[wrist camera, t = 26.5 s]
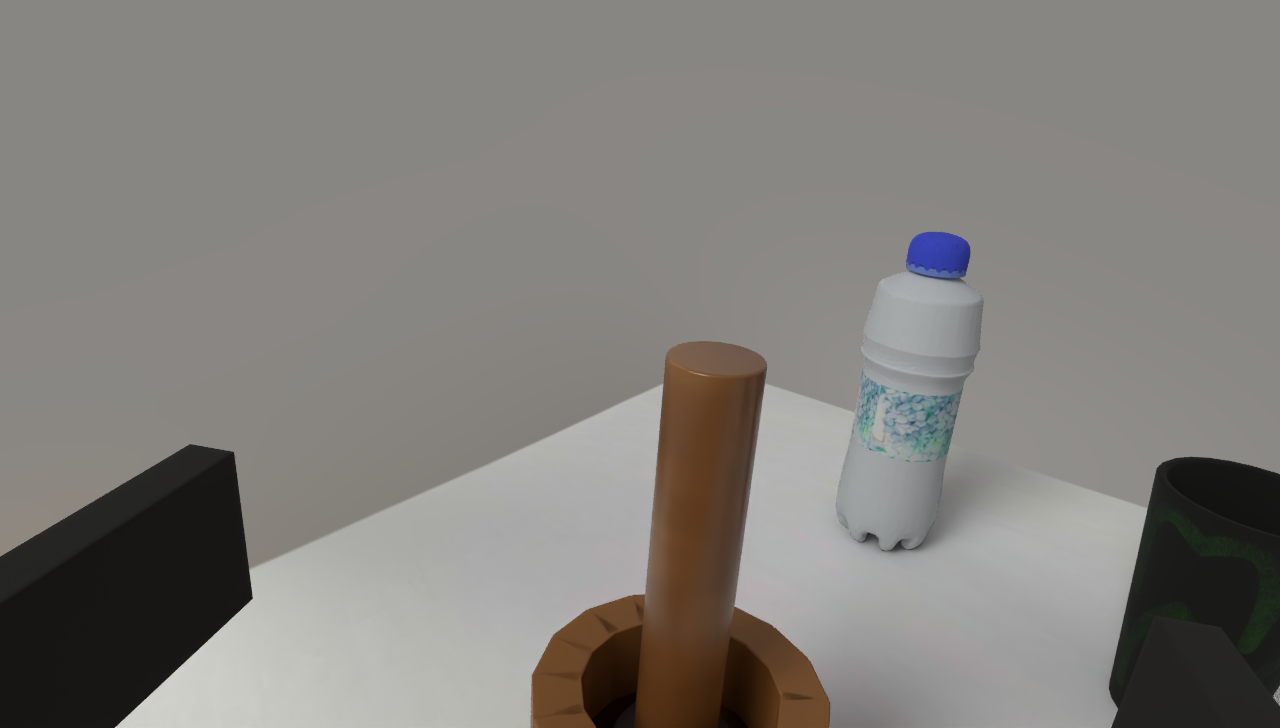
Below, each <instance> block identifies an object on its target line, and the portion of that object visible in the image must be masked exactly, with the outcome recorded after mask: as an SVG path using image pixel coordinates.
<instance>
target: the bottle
mask: <svg viewBox="0 0 1280 728" xmlns="http://www.w3.org/2000/svg"><path fill="white" fill-rule="evenodd" d="M969 258H970V246H969V244H968V242H967V241H966V240H964V239H963V238H961V237H958V236H956V235H953V234H949V233H944V232H926V233H922V234H919V235H917V236H916V237H915V238H914V239H913V240H912V241H911V243H910V246H909V250H908V255H907V261H906V267H907V269H909V270H908V271H905V272H902V273H899V274H896V275H893V276H890V277H887V278H885V279H883V280H881V281H880V283H879V285H878V288H877V291H876V294H875V297H874V300H873V304H872V306H871V309H870V312H869V315H868V318H867V321H866V324H865V326H864V329H863V333H864V343H863V345H862V347H861V352H862V355H863V358H864V368H863V372H862V378H861V384H860V389H859V395H858V400H857V406H856V411H855V416H854V421H853V427H852V433H851V439H850V443H849V447H848V451H847V454H846V458H845V462H844V465H843V469H842V473H841V477H840V482H839V486H838V493H837V500H836V508H837V516H838V519H839V521H840V523H841V524H842V525H843V526H845V527H847V528H849V531H850V534H851V536H852V537H853V538H854V539H855V540H857V541H859V542H863V541H864V540H865V539H866V537H867V534H868V533H871V534H874V535H876V536H877V537H878V539H879V548H880V549H881V550H886V551H889V550H891V549H893V548H894V546H895V545H896V544H897V542H898V541H900V540H901V545H902V546H903V547H904V548H905V549H912V548H915V547H916V546H918V545H920V543H921V542H922V541H923V540H924V538H925V537H926V535H927V533H928V531H929V529H930V528H931V526H932V525H933V523H934V521H935V518H936V515H937V512H938V507H939V501H940V496H941V490H942V483H943V476H944V468H945V462H946V457H947V453H948V450H949V445H950V441H951V437H952V433H953V428H954V424H955V419H956V415H957V411H958V407H959V403H960V398H961V394H962V390H963V385H964V381H965V380H966V378H967V377H968V376H969V375H970V374H971V373H972V372H973V370H974V360H975V358H976V355H977V354H978V352H979V350H980V333H981V321H982V311H983V297H982V295H981V294H980V293H979V292H978V291H977V290H975V289H974V288H973V287H971V286H970V285H969V284H967V283H966V282H965V281H963V280H962V279H960V277H964V276H965V275H966V271H967V267H968V263H969Z"/></svg>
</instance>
